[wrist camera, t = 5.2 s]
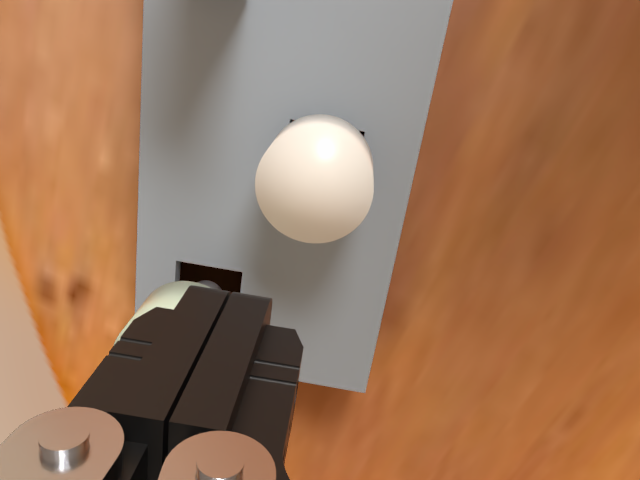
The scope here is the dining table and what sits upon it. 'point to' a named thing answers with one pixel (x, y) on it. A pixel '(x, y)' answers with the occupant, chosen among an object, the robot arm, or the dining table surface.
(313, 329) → the console
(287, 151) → the button ivory
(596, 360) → the dining table surface
